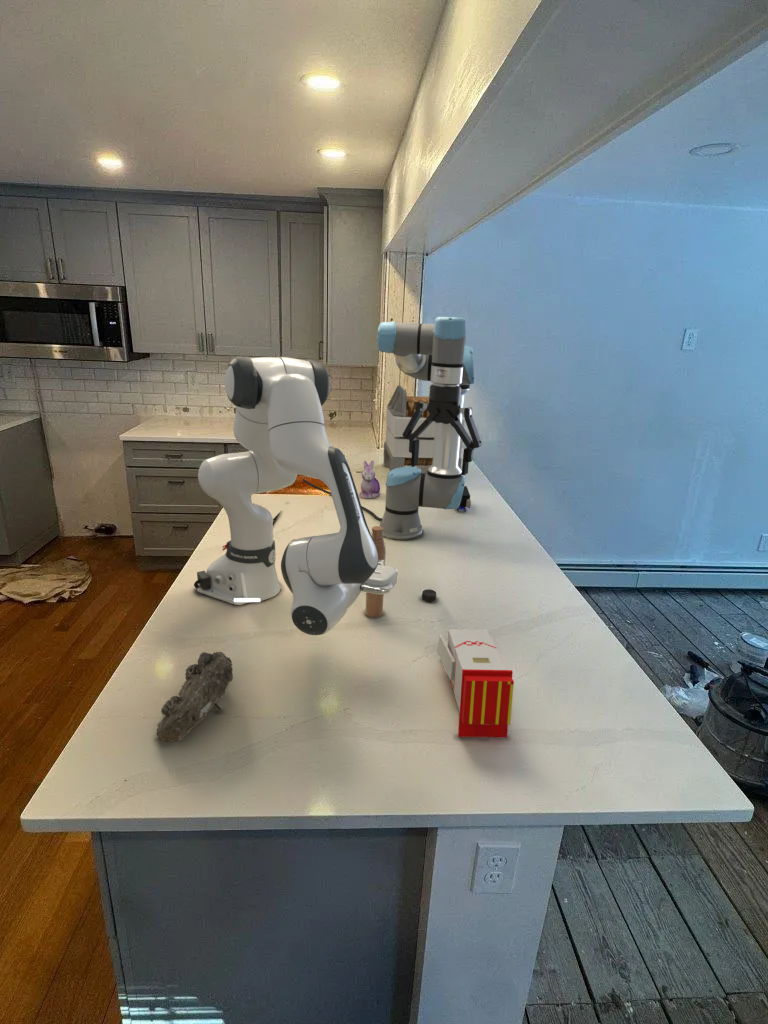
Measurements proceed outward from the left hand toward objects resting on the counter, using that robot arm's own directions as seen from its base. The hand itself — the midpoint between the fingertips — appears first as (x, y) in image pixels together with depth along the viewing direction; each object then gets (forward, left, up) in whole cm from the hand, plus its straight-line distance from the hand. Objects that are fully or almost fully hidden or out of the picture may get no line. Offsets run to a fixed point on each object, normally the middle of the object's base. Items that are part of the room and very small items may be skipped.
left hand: (361, 559), depth 131 cm
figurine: (-32, +103, -20) cm, 110 cm away
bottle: (0, +11, -20) cm, 23 cm away
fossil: (-20, -36, -20) cm, 46 cm away
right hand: (+12, +24, +17) cm, 32 cm away
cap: (+12, +24, -18) cm, 33 cm away
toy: (+29, -12, -20) cm, 37 cm away
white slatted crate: (-21, +146, -20) cm, 149 cm away
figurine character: (+7, +104, -20) cm, 106 cm away
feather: (-55, +67, -20) cm, 89 cm away
